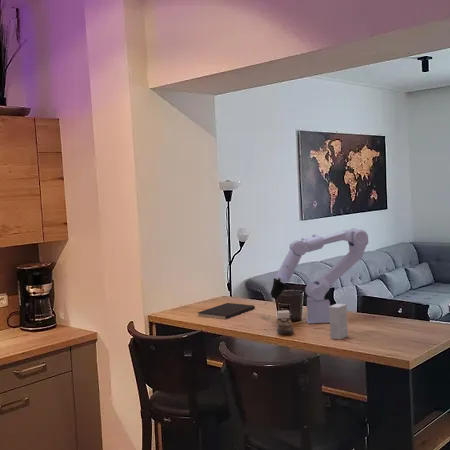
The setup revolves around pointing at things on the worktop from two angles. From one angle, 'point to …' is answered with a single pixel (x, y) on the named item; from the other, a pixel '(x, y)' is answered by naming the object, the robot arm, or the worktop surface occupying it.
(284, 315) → the rider
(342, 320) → the skincare box
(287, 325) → the beam
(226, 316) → the hardcover book
